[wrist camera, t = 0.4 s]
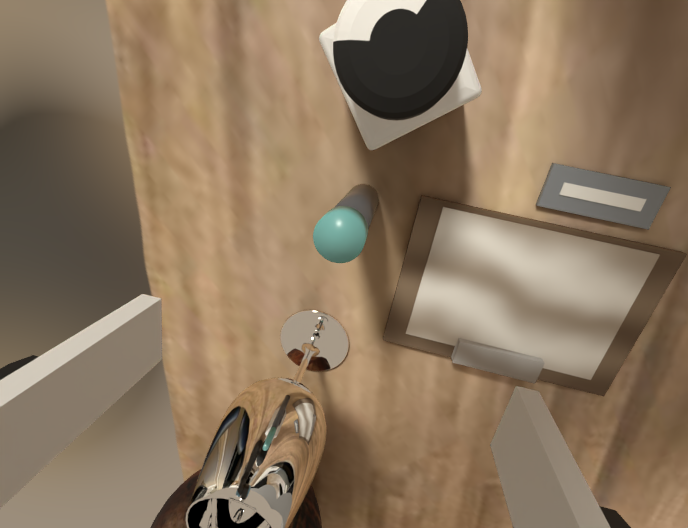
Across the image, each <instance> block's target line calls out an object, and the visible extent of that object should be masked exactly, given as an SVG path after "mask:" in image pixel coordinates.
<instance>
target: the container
mask: <svg viewBox="0 0 688 528" xmlns="http://www.w3.org/2000/svg"><path fill="white" fill-rule="evenodd" d="M319 40H320V44H321V46H322V48H323V50H324V53H325V55H326V57H327V59H328V61H329V64H330V66H331V68H332V70H333V73H334V75H335V77H336V79H337V82H338V84H339V86H340V88H341V90H342V93H343V95H344V97H345V99H346V102H347V104H348V106H349V108H350V111H351V113H352V115H353V117H354V119H355V122H356V124H357V126H358V128H359V131H360V133H361V135H362V137H363V140H364V142H365V144H366V146H367V148H368V149H369V150H375V149H377V148H379V147H381V146H383V145H385V144H387V143H389V142H391V141H393V140H395V139H397V138H399V137H401V136H403V135H405V134H407V133H409V132H411V131H413V130H415V129H417V128H419V127H421V126H423V125H425V124H427V123H428V122H430V121H432V120H434V119H436V118H438V117H440V116H442V115H444V114H446V113H448V112H450V111H452V110H454V109H456V108H458V107H460V106H462V105H464V104H466V103H468V102H470V101H472V100H474V99H476V98H477V97H479V96H480V94H481V92H482V91H481V86H480V83H479V80H478V77H477V74H476V72H475V69H474V66H473V63H472V60H471V57H470V55H469V52H468V49H467V43H468V27H467V20H466V15H465V12H464V9H463V6H462V3H461V1H460V0H347V1H346V3H345V5H344V7H343V8H342V10H341V13H340V15H339V18H338V20H337V23H335V24H334V25H332V26H331V27H329V28H327V29H326V30H324V31H323V32H322V33H321V34H320V36H319Z"/></svg>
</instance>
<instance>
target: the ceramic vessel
mask: <svg viewBox="0 0 688 528" xmlns="http://www.w3.org/2000/svg"><path fill="white" fill-rule="evenodd" d="M200 471H201V470H199V471H197V472H196V473H195V474H193V475H192V476H191V477H190V478H188V479H187V480H186V481H185V482H184V483H183V484H182V485H180V487H179V488H178V489H177V490H176V491H175V492H174V493H173V494H172V495H171V496H170V498H169V499H168V500H167V501H166V503H165V504H164V506H163V507H162V509H161V510H160V512H159V513H158V515H157V517H156V518H155V520H154V522H153V524H152V526H151V528H187V525H186V512H187V509H188V506H189V503H190V501H191V498H192V495H193V492H194V489H195V486H196V483H197V480H198V477H199V474H200ZM289 528H322V525H321V517H320V511H319V507H318V503H317V500H316V496H315V493H314V490H313V488H312V486H311V485H310V487H309V489H308V492H307V494H306V496H305V498H304V500H303V502H302V504H301V506H300V508H299V510H298V512H297V513H296V515H295V517H294V519H293V521H292V523H291V525H290V527H289Z"/></svg>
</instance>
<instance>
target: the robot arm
mask: <svg viewBox="0 0 688 528" xmlns="http://www.w3.org/2000/svg"><path fill="white" fill-rule="evenodd" d="M161 359H162V310H161V298H157V297H153V296H148V295H144V294H142V295H140V296H138V297H137V298H135V299H134V300H132V301H130V302H129V303H127V304H125V305H124V306H122V307H120V308H119V309H117V310H115V311H114V312H112V313H110V314H109V315H107V316H105V317H104V318H102V319H100V320H99V321H97V322H96V323H94V324H92V325H91V326H89V327H88V328H86V329H84V330H82V331H81V332H79V333H77V334H76V335H74V336H72V337H71V338H69V339H68V340H66V341H64V342H63V343H61V344H59V345H58V346H56V347H54V348H53V349H51V350H50V351H48V352H46V353H45V354H43V355H41V356H39V357H38V356H34V355H32V356H30V357H27V358H24V359H21V360H19V361H16V362H13V363H10V364H8V365H6V366H5V367H3V368H1V369H0V508H1V507H2V506H3V505H4V504H5V503H7V502H8V501H9V500H10V499H11V498H12V497H13V496H14V495H15V494H16V493H17V492H18V491H20V490H21V489H22V488H23V487H24V486H25V485H26V484H27V483H28V482H29V481H30V480H32V479H33V478H34V477H35V476H36V475H37V474H38V473H39V472H40V471H41V470H42V469H43V468H44V467H46V465H48V464H49V463H50V462H51V461H52V460H53V459H54V458H55V457H56V456H58V454H59V453H60V452H62V451H63V450H64V449H65V448H66V447H67V446H68V445H69V444H70V443H72V442H73V441H74V440H75V439H76V438H77V437H78V436H79V435H80V434H81V433H82V432H83V431H84V430H86V429H87V428H88V427H89V426H90V425H91V424H92V423H93V422H94V421H95V420H96V419H98V417H100V416H101V415H102V414H103V413H104V412H105V411H106V410H107V409H108V408H109V407H110V406H112V405H113V404H114V403H115V402H116V401H117V400H118V399H119V398H120V397H121V396H122V395H123V394H125V393H126V392H127V391H128V390H129V389H130V388H131V387H132V386H133V385H134V384H135V383H137V382H138V381H139V380H140V379H141V378H142V377H143V376H144V375H145V374H146V373H147V372H148V371H150V370H151V369H152V368H153V367H154V366H155V365H156V364H157V363H158V362H159V361H160V360H161ZM490 446H491V449H492V453H493V457H494V460H495V464H496V467H497V471H498V475H499V478H500V482H501V485H502V489H503V493H504V496H505V500H506V503H507V507H508V511H509V514H510V518H511V521H512V525H513V528H631V527H630V526H629V525H628V524H627V523H626V522H625V520H624V519H623V518H622V517H621V516H620V515H619V514H618V513H617V511H616V510H612V509H608V508H604V507H601V506H599V505H598V503H597V501H596V499H595V497H594V495H593V493H592V491H591V489H590V488H589V486H588V484H587V482H586V480H585V478H584V476H583V474H582V472H581V470H580V469H579V467H578V465H577V463H576V461H575V459H574V457H573V455H572V453H571V451H570V450H569V448H568V446H567V444H566V442H565V440H564V438H563V436H562V434H561V432H560V431H559V429H558V427H557V425H556V423H555V421H554V419H553V417H552V415H551V413H550V412H549V410H548V408H547V406H546V404H545V402H544V400H543V398H542V396H541V394H540V393H539V391H536V390H532V389H528V388H524V387H519V386H516V387H515V389H514V392H513V394H512V396H511V398H510V401H509V403H508V405H507V407H506V410H505V412H504V414H503V416H502V419H501V421H500V423H499V426H498V428H497V430H496V432H495V435H494V437H493V439H492V441H491V444H490Z"/></svg>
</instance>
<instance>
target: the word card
mask: <svg viewBox="0 0 688 528" xmlns="http://www.w3.org/2000/svg"><path fill="white" fill-rule="evenodd" d="M670 188H671V187H667V186H662V185H657V184H652V183H647V182H643V181H638V180H633V179H628V178H623V177H618V176H613V175H608V174H603V173H598V172H594V171H589V170H584V169H579V168H574V167H569V166H564V165H559V164H554V163H552V165H551V167H550V170H549V173H548V175H547V178H546V180H545V183H544V185H543V188H542V190H541V193H540V195H539V198H538V200H537V203H536V205H537V206H541V207H546V208H550V209H555V210H560V211H564V212H569V213H574V214H578V215H583V216H588V217H592V218H597V219H602V220H606V221H611V222H616V223H620V224H625V225H630V226H634V227H639V228H644V229H648V230H649V228H650V226H651V224H652V222H653V220H654V218H655V217H656V215H657V213H658V211H659V209H660V207H661V205H662V203H663V201H664V199H665V198H666V196H667V194H668V192H669V190H670Z"/></svg>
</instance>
